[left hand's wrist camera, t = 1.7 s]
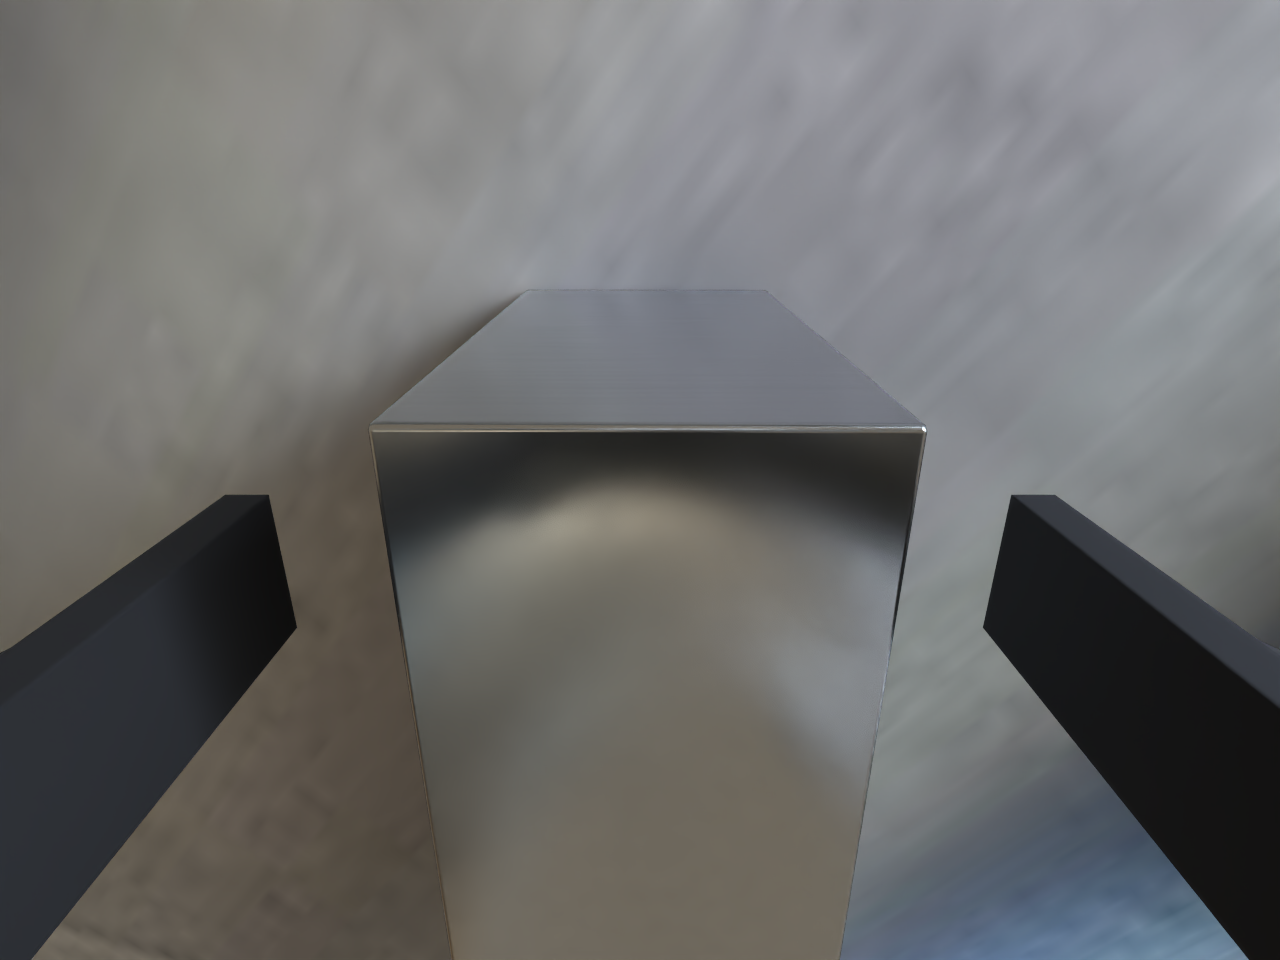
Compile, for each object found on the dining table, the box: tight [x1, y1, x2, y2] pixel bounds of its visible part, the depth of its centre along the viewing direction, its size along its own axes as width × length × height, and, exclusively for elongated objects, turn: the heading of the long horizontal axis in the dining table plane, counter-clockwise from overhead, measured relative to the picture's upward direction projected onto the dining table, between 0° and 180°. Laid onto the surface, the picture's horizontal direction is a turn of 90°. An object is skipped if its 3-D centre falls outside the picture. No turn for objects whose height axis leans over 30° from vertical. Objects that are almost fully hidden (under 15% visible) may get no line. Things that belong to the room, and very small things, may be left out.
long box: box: [368, 290, 927, 960], centre depth 18 cm, size 24×6×12 cm, turn 0°
